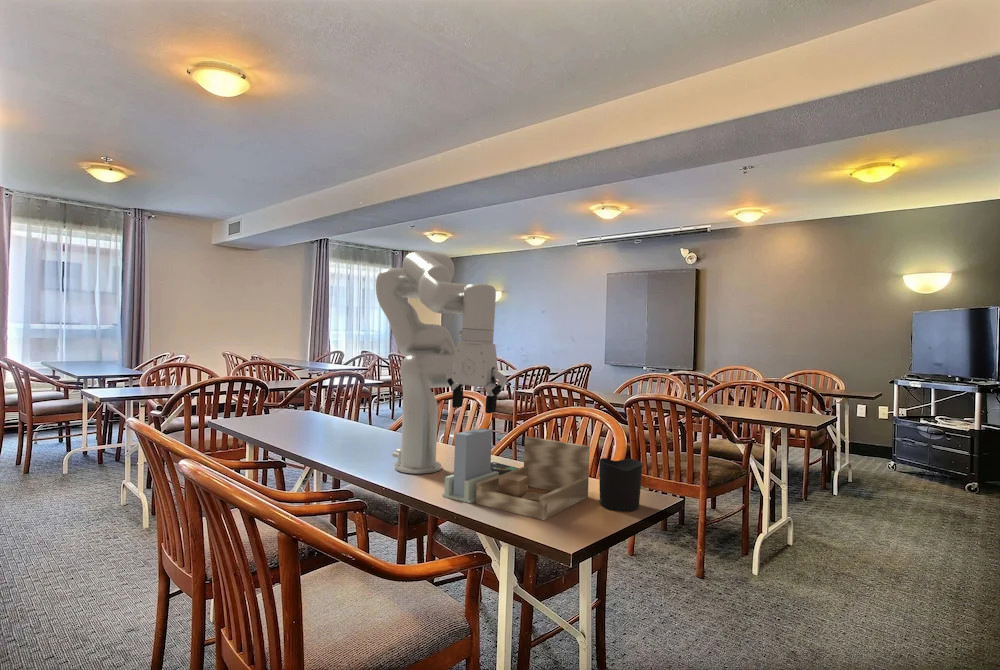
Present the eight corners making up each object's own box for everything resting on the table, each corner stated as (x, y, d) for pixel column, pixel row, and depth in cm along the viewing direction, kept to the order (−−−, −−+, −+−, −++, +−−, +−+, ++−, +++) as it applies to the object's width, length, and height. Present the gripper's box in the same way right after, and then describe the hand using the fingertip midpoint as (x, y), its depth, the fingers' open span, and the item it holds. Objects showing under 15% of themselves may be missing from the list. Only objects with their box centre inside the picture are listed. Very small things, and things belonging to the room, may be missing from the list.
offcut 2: (497, 504, 123) (497, 490, 123) (509, 499, 127) (509, 486, 127) (516, 508, 120) (516, 495, 120) (527, 503, 125) (528, 490, 125)
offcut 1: (498, 491, 123) (498, 478, 123) (507, 486, 127) (507, 473, 127) (519, 494, 121) (519, 481, 121) (527, 489, 125) (528, 476, 125)
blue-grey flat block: (453, 494, 126) (455, 433, 126) (479, 485, 135) (481, 428, 135) (464, 497, 125) (466, 435, 125) (489, 488, 133) (491, 429, 133)
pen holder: (610, 497, 131) (612, 455, 131) (647, 506, 125) (649, 462, 125) (590, 505, 124) (591, 461, 124) (628, 515, 118) (630, 468, 118)
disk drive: (466, 477, 146) (509, 489, 136) (467, 467, 146) (509, 477, 137) (493, 471, 154) (535, 481, 144) (493, 461, 154) (535, 471, 144)
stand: (442, 496, 127) (443, 476, 127) (473, 485, 137) (474, 467, 137) (470, 503, 122) (471, 482, 122) (500, 491, 132) (501, 472, 132)
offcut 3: (520, 512, 118) (520, 498, 118) (526, 505, 123) (527, 492, 123) (543, 515, 117) (543, 501, 117) (548, 508, 122) (549, 494, 122)
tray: (475, 503, 123) (477, 449, 123) (525, 483, 140) (527, 436, 140) (543, 520, 113) (545, 461, 113) (587, 496, 131) (589, 446, 131)
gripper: (438, 334, 131) (434, 406, 132) (499, 339, 122) (494, 416, 122) (458, 335, 138) (454, 403, 138) (517, 339, 128) (513, 413, 128)
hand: (473, 409), depth 130 cm, fingers open, 9 cm apart
